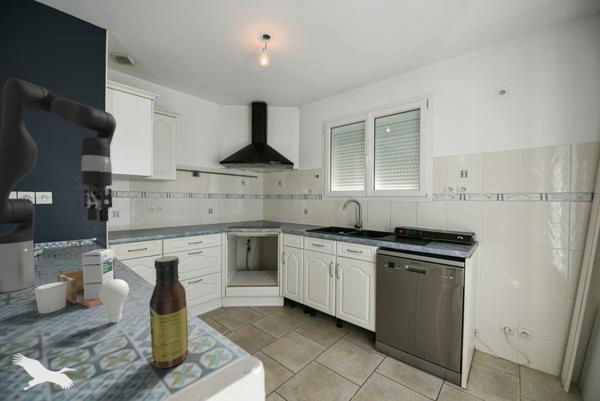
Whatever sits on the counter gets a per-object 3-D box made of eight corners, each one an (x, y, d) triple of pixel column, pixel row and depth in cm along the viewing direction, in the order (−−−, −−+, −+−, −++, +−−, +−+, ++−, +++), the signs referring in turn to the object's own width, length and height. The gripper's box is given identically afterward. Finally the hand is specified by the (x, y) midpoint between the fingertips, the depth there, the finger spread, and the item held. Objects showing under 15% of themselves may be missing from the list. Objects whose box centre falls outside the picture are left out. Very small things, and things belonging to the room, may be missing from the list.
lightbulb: (135, 318, 64) (134, 276, 64) (110, 330, 58) (109, 285, 58) (119, 315, 66) (117, 275, 66) (93, 326, 60) (92, 282, 60)
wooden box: (58, 295, 81) (57, 274, 81) (95, 285, 90) (95, 267, 90) (73, 303, 75) (72, 280, 75) (112, 291, 84) (111, 271, 84)
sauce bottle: (162, 350, 50) (159, 254, 50) (193, 348, 50) (190, 252, 50) (144, 373, 43) (140, 262, 43) (180, 370, 44) (177, 261, 44)
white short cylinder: (47, 315, 67) (46, 290, 67) (28, 313, 69) (27, 288, 68) (74, 304, 74) (73, 281, 74) (57, 303, 75) (56, 280, 75)
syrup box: (103, 299, 74) (101, 252, 74) (83, 300, 74) (81, 252, 74) (116, 292, 80) (114, 248, 80) (97, 293, 80) (96, 248, 79)
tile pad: (79, 302, 75) (78, 298, 75) (110, 293, 82) (110, 289, 82) (89, 307, 71) (89, 303, 71) (122, 297, 78) (121, 293, 78)
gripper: (73, 171, 79) (74, 221, 79) (91, 168, 71) (92, 223, 72) (101, 173, 85) (102, 219, 85) (120, 170, 78) (121, 220, 78)
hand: (97, 221), depth 78 cm, fingers open, 8 cm apart
